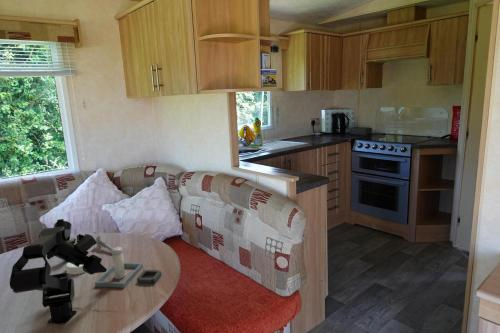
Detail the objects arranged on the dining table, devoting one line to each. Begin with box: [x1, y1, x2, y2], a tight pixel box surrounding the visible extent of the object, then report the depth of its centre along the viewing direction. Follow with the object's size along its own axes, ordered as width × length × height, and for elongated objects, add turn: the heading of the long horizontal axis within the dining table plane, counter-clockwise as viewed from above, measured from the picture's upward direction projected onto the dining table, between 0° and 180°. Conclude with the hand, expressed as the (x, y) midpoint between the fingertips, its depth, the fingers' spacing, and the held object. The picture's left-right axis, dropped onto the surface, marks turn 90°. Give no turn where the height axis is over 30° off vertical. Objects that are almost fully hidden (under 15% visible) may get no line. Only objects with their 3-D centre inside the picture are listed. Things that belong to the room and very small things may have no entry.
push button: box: [61, 236, 77, 262], centre depth 158 cm, size 7×5×10 cm
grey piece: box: [134, 269, 164, 287], centre depth 137 cm, size 10×8×3 cm
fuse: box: [110, 246, 127, 280], centre depth 139 cm, size 4×4×12 cm
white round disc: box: [65, 262, 86, 275], centre depth 149 cm, size 10×10×4 cm
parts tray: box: [94, 262, 144, 289], centre depth 140 cm, size 16×12×2 cm
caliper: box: [95, 235, 114, 252], centre depth 165 cm, size 20×1×6 cm, turn 54°
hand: (99, 267), depth 133 cm, fingers open, 9 cm apart
